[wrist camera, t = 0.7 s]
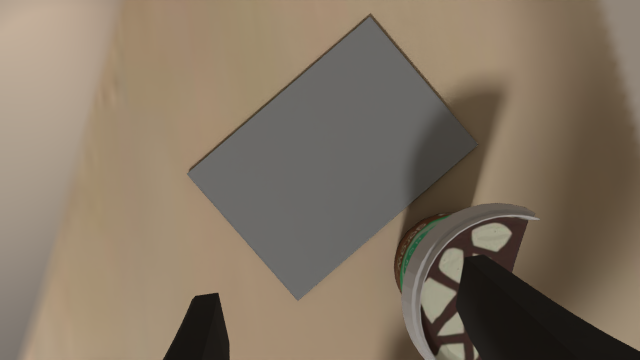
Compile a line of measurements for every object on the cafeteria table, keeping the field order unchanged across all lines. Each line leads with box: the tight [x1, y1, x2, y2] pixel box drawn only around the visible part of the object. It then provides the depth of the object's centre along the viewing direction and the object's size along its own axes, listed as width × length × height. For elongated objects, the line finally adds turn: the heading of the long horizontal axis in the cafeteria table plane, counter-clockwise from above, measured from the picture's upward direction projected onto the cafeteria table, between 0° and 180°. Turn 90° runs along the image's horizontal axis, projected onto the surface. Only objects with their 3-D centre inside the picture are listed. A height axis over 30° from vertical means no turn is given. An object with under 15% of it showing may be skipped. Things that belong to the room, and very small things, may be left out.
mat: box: [187, 17, 478, 301], centre depth 33 cm, size 14×20×1 cm
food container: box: [394, 203, 540, 360], centre depth 29 cm, size 12×6×10 cm, turn 162°
